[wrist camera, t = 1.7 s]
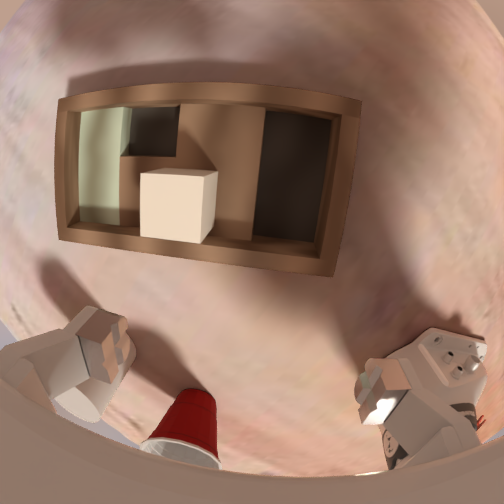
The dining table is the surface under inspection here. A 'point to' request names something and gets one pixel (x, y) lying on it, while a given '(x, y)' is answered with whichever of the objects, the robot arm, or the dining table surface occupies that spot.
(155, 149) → the box
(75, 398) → the beige cylinder
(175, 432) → the plastic cup
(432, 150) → the dining table surface
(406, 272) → the dining table surface
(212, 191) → the block
